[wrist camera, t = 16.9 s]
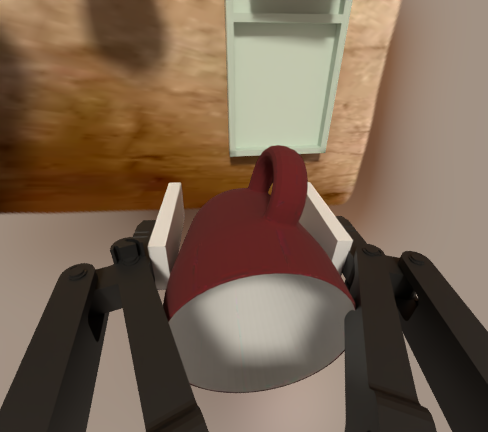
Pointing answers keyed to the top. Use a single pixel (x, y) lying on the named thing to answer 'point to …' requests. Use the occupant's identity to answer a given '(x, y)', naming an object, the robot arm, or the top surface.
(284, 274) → the mug
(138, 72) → the top surface
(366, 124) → the top surface
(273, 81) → the jig
